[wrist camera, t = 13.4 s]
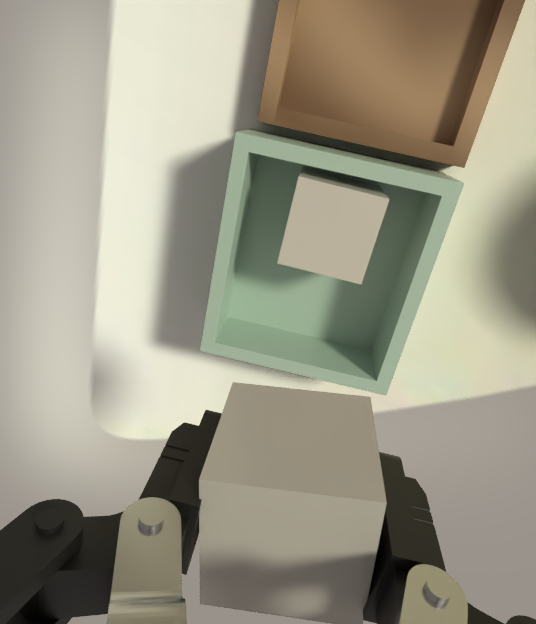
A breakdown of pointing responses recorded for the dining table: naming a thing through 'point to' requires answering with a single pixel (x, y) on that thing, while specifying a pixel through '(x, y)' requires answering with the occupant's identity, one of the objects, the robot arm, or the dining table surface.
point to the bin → (315, 287)
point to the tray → (388, 71)
